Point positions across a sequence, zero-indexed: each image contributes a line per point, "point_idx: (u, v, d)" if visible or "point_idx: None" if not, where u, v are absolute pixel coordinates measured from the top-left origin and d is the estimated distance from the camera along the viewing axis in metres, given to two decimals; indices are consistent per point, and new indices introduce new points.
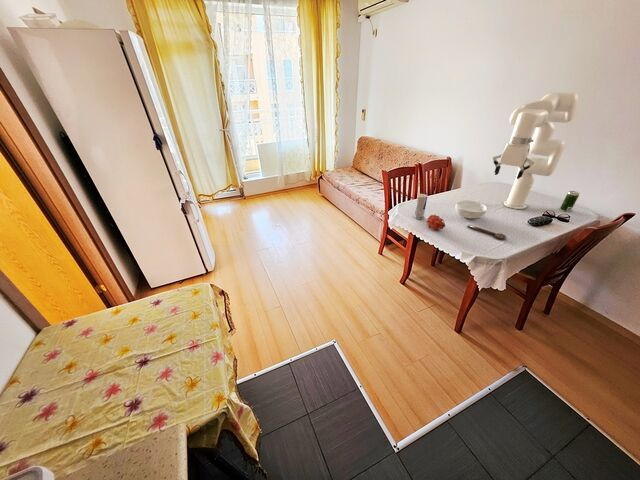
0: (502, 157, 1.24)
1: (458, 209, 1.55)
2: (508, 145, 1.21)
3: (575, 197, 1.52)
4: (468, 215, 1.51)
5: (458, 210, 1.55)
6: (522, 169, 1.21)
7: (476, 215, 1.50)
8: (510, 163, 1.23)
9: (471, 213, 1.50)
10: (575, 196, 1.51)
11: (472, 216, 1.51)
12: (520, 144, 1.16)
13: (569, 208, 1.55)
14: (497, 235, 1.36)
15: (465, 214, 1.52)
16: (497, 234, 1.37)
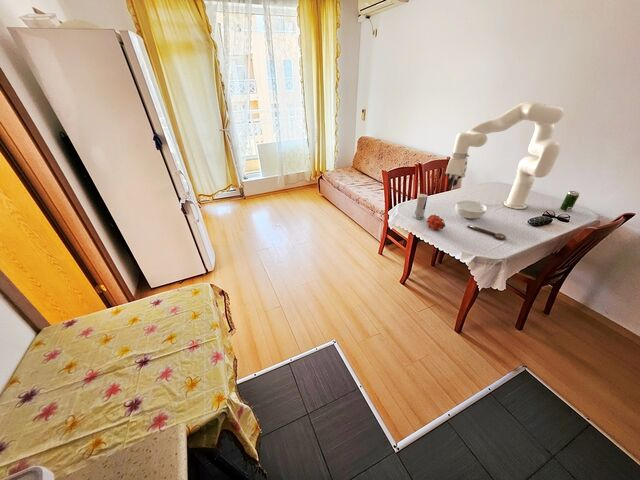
0: (447, 168, 1.55)
1: (458, 209, 1.55)
2: (451, 158, 1.52)
3: (575, 197, 1.52)
4: (468, 215, 1.51)
5: (458, 210, 1.55)
6: (456, 178, 1.55)
7: (476, 215, 1.50)
8: (454, 173, 1.54)
9: (471, 213, 1.50)
10: (575, 196, 1.51)
11: (472, 216, 1.51)
12: (459, 158, 1.47)
13: (569, 208, 1.55)
14: (497, 235, 1.36)
15: (465, 214, 1.52)
16: (497, 234, 1.37)
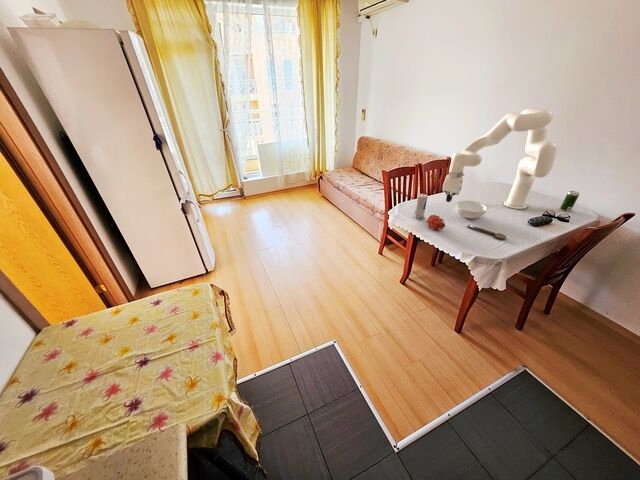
0: (444, 185, 1.61)
1: (458, 209, 1.55)
2: (447, 177, 1.57)
3: (575, 197, 1.52)
4: (468, 215, 1.51)
5: (458, 210, 1.55)
6: (450, 195, 1.61)
7: (476, 215, 1.50)
8: (449, 190, 1.59)
9: (471, 213, 1.50)
10: (575, 196, 1.51)
11: (472, 216, 1.51)
12: (454, 177, 1.53)
13: (569, 208, 1.55)
14: (497, 235, 1.36)
15: (465, 214, 1.52)
16: (497, 234, 1.37)
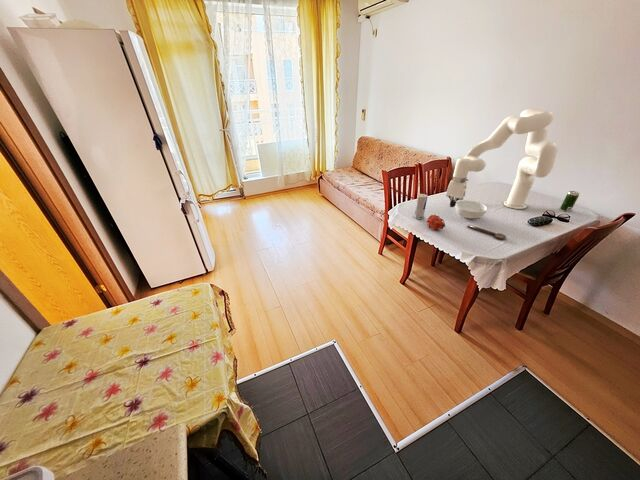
0: (447, 190, 1.61)
1: (458, 209, 1.55)
2: (451, 182, 1.57)
3: (575, 197, 1.52)
4: (468, 215, 1.51)
5: (458, 210, 1.55)
6: (454, 200, 1.61)
7: (476, 215, 1.50)
8: (453, 195, 1.59)
9: (471, 213, 1.50)
10: (575, 196, 1.51)
11: (472, 216, 1.51)
12: (458, 182, 1.52)
13: (569, 208, 1.55)
14: (497, 235, 1.36)
15: (465, 214, 1.52)
16: (497, 234, 1.37)
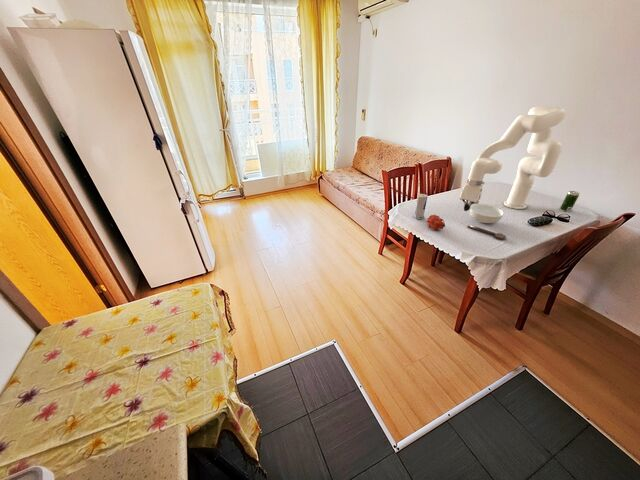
0: (462, 193, 1.54)
1: (474, 214, 1.49)
2: (466, 185, 1.51)
3: (575, 197, 1.52)
4: (485, 220, 1.45)
5: (474, 215, 1.49)
6: (469, 204, 1.54)
7: (493, 220, 1.44)
8: (468, 199, 1.53)
9: (488, 218, 1.44)
10: (575, 196, 1.51)
11: (489, 221, 1.45)
12: (474, 185, 1.46)
13: (569, 208, 1.55)
14: (497, 235, 1.36)
15: (481, 218, 1.46)
16: (497, 234, 1.37)
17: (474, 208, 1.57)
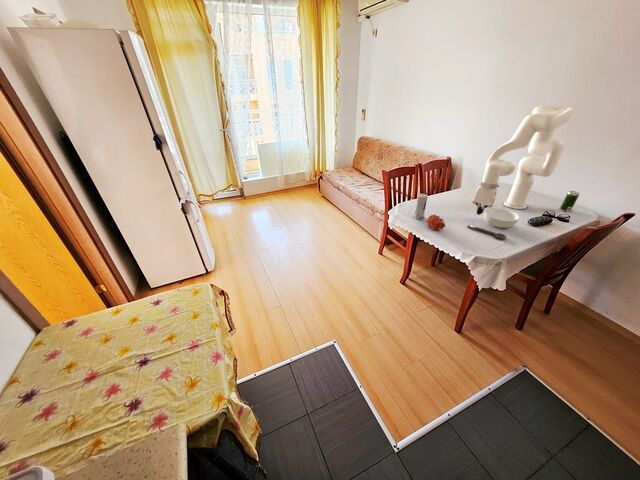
0: (475, 197, 1.49)
1: (488, 218, 1.44)
2: (479, 188, 1.46)
3: (575, 197, 1.52)
4: (500, 224, 1.40)
5: (488, 219, 1.44)
6: (482, 207, 1.49)
7: (509, 224, 1.39)
8: (481, 202, 1.48)
9: (504, 222, 1.39)
10: (575, 196, 1.51)
11: (504, 225, 1.40)
12: (488, 188, 1.41)
13: (569, 208, 1.55)
14: (497, 235, 1.36)
15: (496, 223, 1.41)
16: (497, 234, 1.37)
17: (487, 212, 1.52)
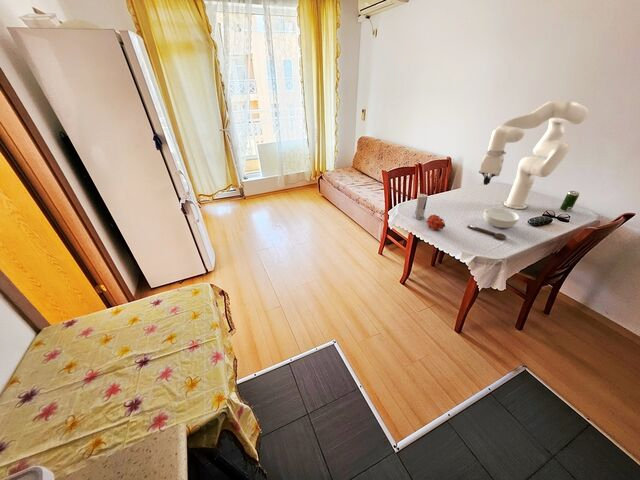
0: (481, 166, 1.47)
1: (488, 218, 1.44)
2: (485, 156, 1.43)
3: (575, 197, 1.52)
4: (500, 224, 1.40)
5: (488, 219, 1.44)
6: (489, 177, 1.47)
7: (509, 224, 1.39)
8: (488, 171, 1.45)
9: (504, 222, 1.39)
10: (575, 196, 1.51)
11: (504, 225, 1.40)
12: (495, 156, 1.39)
13: (569, 208, 1.55)
14: (497, 235, 1.36)
15: (496, 223, 1.41)
16: (497, 234, 1.37)
17: (487, 212, 1.52)
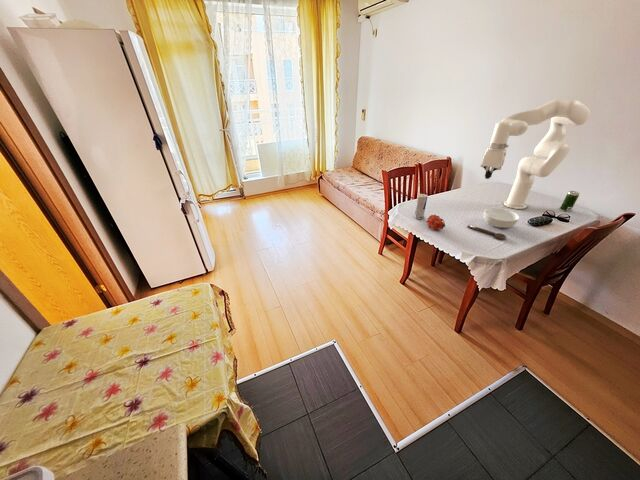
0: (483, 160, 1.46)
1: (488, 218, 1.44)
2: (488, 149, 1.42)
3: (575, 197, 1.52)
4: (500, 224, 1.40)
5: (488, 219, 1.44)
6: (491, 171, 1.46)
7: (509, 224, 1.39)
8: (490, 165, 1.44)
9: (504, 222, 1.39)
10: (575, 196, 1.51)
11: (504, 225, 1.40)
12: (497, 149, 1.37)
13: (569, 208, 1.55)
14: (497, 235, 1.36)
15: (496, 223, 1.41)
16: (497, 234, 1.37)
17: (487, 212, 1.52)
